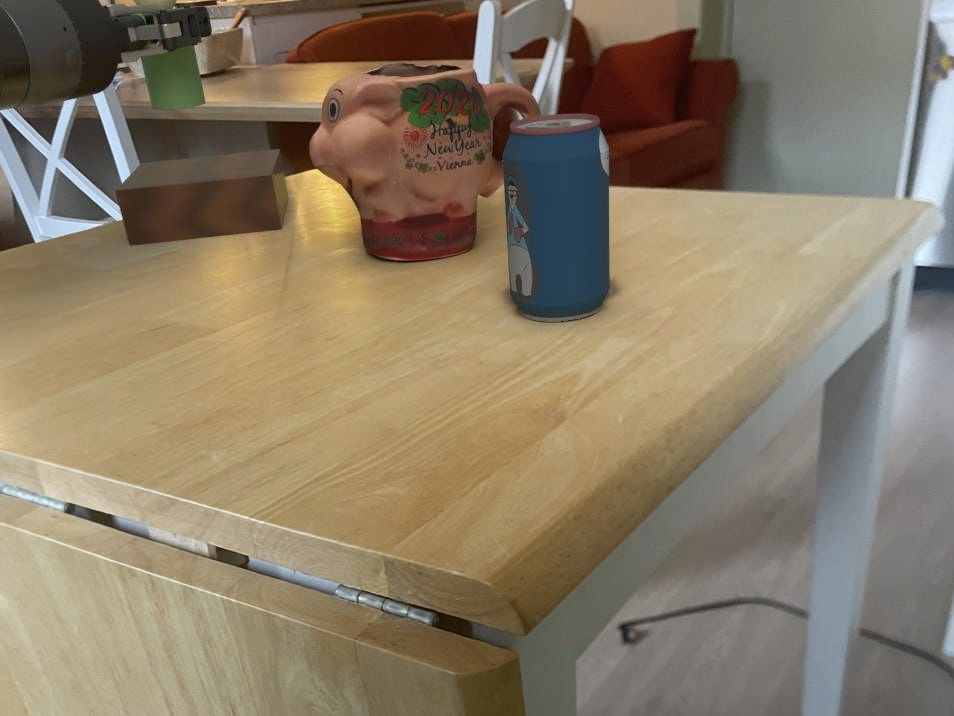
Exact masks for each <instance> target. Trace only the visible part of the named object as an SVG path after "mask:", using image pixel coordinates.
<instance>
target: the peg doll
mask: <svg viewBox="0 0 954 716" xmlns="http://www.w3.org/2000/svg"><path fill="white" fill-rule="evenodd" d="M132 1H133V2H134V4H135V6H136V5H144V4H156V5H157V6H158V7H159V8H160V9H161V10H166V9H171V7H173V6H176V3H177V0H132ZM131 15H139V16H141V17H142V18H143V19H144V21H145V24H146V20H145V17H144V16H143V14H141V13H138V14H131ZM149 45H150V40H149V42H148V44H147V45H146V46H145V48H147V47H149ZM139 59H140V62H141V66H142V70H143V75H144V79H145V83H146V87H147V91H148V97H149V100H150V105H151V109H152V110H154V111H173V110H183V109H190V108H194V107H200V106H204V105H205V104H207V103H206V102H207V101H206V97H205V92H204V88H203V82H202V78H201V73H200V67H199V62H198V58H197V53H196V48H195V45H189V46H185V47H181V48H177V49H175V51H167V52H166V53H164V54H158V55H151V56H144V57H140V58H139Z"/></svg>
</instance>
